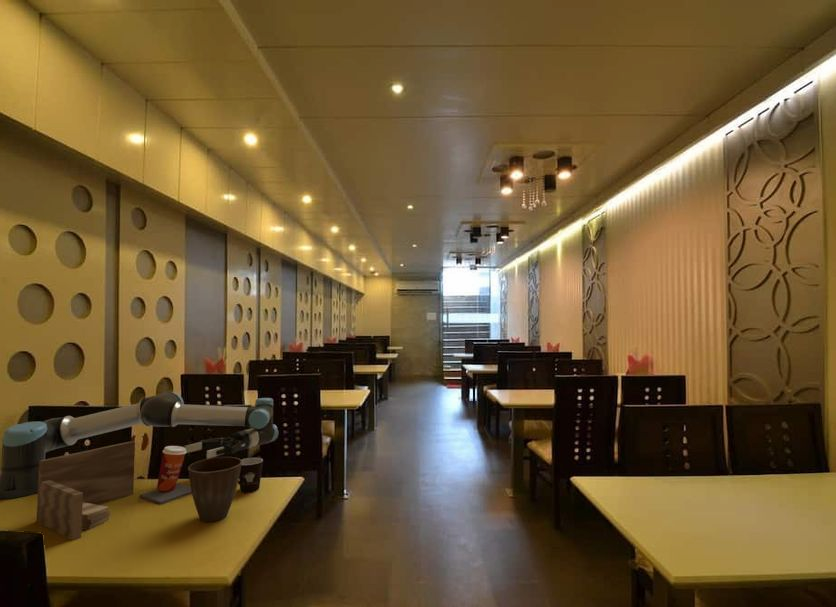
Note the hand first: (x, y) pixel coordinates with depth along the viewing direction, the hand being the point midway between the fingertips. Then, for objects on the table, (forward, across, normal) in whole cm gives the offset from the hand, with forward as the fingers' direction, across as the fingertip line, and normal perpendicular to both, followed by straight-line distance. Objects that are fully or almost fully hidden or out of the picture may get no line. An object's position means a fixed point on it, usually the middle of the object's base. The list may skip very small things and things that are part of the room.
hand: (195, 452), depth 158 cm
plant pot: (+14, -31, -12) cm, 36 cm away
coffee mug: (-6, -20, -12) cm, 25 cm away
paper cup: (+9, +2, -11) cm, 15 cm away
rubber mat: (+10, 0, -12) cm, 16 cm away
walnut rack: (+29, +2, -12) cm, 31 cm away
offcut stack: (+35, 0, -13) cm, 37 cm away
